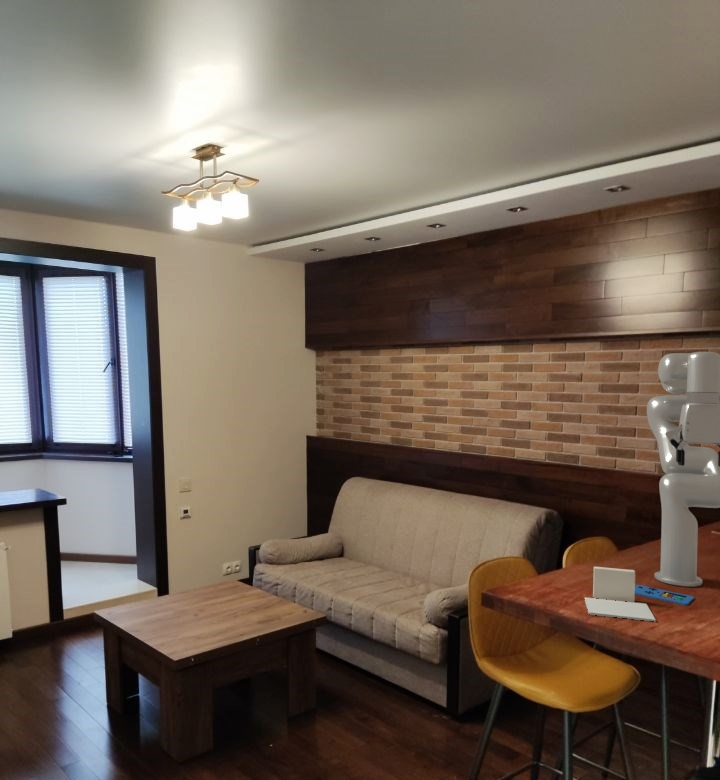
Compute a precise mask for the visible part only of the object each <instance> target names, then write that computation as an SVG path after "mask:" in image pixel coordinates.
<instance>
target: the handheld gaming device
mask: <svg viewBox="0 0 720 780" xmlns="http://www.w3.org/2000/svg"><path fill="white" fill-rule="evenodd" d="M664 593H666V594H664ZM668 594H671V595H674V596H673V597H672V598H671V597H668V596H667V595H668ZM640 595H642V596H641V597H645V596H646V598H649V597H650V599H655V600H658V599H659V601H663V600H664V601H663V602H667V601H669V602H668V603H672V602H673V604H676V603H677V604H678V605H681V604H682V606H689V605H690V604H691V603H692V602H693V601H694V600H695V597H694V596H693V595H688V594H683V593H680V592H679V593H678V592H674V591H669V590H665V589H660V588H655V587H652V586H651V587H650V586H646V585H641V584H635V596H640ZM674 599H675V600H674ZM681 600H682V601H681ZM692 600H693V601H692ZM691 601H692V602H691ZM690 602H691V603H690Z"/></svg>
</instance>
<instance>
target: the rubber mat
mask: <svg viewBox="0 0 720 780" xmlns="http://www.w3.org/2000/svg"><path fill="white" fill-rule="evenodd" d="M584 599H585V600H584V603H585V606H586V609H588V610H587V613H588V615H589V614H590V615H589V616H595V615H597V617H598V616H599V617H604V616H605V618H613V617H617V618H616V619H622V618H627V619H626V620H631V619H634V620H633V621H640V620H644V621H643V622H649V621H654V622H653V623H656V622H657V619H656V618H655V616H654V614H653V612H652V611H651V609H650V608H649V606H648V604H647V603H643V602H635V601H634V602H625V601H615V600H606V599H596V598H593V597H584Z"/></svg>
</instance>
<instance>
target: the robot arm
mask: <svg viewBox="0 0 720 780" xmlns="http://www.w3.org/2000/svg"><path fill="white" fill-rule="evenodd" d="M657 375H658V379H659V381H660V383H661V386H662V388H663V389H664V390H665V391H666V392H667V393H669V395H668V394H667V395H666V394H665V395H663V394H662V395H657V396H653V397H651V398H650V399H649V401H648V402H647V405H646V416H647V422H648V425H649V428H650V431H651V432H652V434H653V435H654V437H655V439H656V442H657V448H658V455H659V460H660V466H661V469H662V471H663V472H664V473H665V474H664V475H663V476H661V477H660V480H659V482H658V485H659V486H658V487H659V497H660V504H661V505H660V506H661V528H660V529H661V532H660V533H661V535H660V536H661V537H660V567H659V568H660V570H658V571H655V572H654V578H655V579H656V580H657V581H659V582H662V583H665V584H668V585H674V586H679V587H689V588H690V587H699V586H702V585H703V578H701V577H700V576H697V570H698V568H697V567H698V536H699V535H698V534H699V531H698V530H699V528H698V527H699V524H698V520H697V517H695V515H694V514H693V513H692V512H691V511H690V510H689V508H692V507H693V508H694V507H695V508H706V509H707V508H708V509H710V508H711V509H712V508H713V509H719V508H720V450H718V453H717V451H716V450H715V449H714V448H711V447H708V446H707V447H705V446H691V445H689V444H698V445H699V444H700V445H701V444H702V445H716V446H717V448H718V449H720V354H719V353H718V352H715V351H693V352H688V353H687V352H685V353H683V352H679V353H677V352H676V353H674V352H673V353H667V354H665V355H664V356H662V357H661V359H660V360H659V362H658V367H657ZM674 422H675V423H678V426H677V425H675V423H674Z"/></svg>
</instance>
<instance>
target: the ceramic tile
mask: <svg viewBox="0 0 720 780" xmlns="http://www.w3.org/2000/svg"><path fill="white" fill-rule="evenodd" d="M592 584H593V586H592V598H593V597H594V598H599V599H607V600H616V601H627V602H635V599H636V598H635V597H636V594H635V585H636V571H635V569H626V568H614V567H603V566H602V567H601V566H593V581H592Z"/></svg>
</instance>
